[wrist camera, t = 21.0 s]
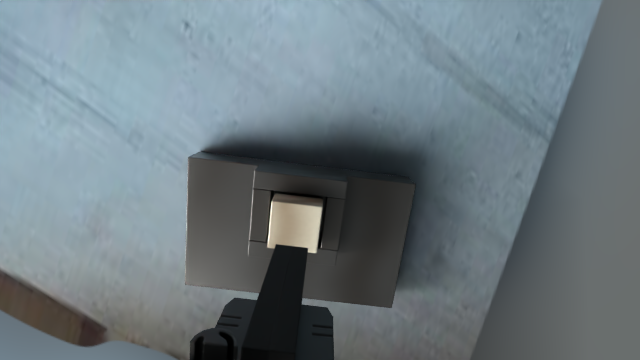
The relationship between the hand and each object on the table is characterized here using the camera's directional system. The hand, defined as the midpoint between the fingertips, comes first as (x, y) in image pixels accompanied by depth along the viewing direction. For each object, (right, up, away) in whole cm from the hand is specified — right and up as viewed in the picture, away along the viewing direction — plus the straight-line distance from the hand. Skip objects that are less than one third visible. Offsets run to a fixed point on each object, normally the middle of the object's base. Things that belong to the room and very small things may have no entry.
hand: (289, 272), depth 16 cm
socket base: (0, +1, +11) cm, 11 cm away
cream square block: (0, +2, +7) cm, 8 cm away
